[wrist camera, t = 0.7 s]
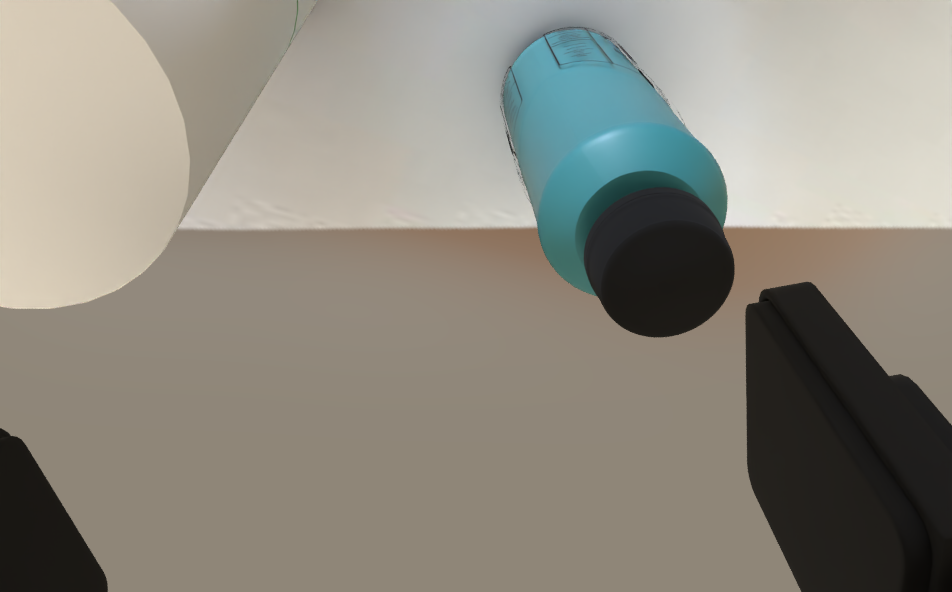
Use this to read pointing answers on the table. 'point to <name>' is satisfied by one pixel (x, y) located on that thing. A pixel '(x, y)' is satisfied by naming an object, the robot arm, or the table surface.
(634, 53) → the table surface
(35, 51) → the cylindrical container
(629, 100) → the beverage bottle
